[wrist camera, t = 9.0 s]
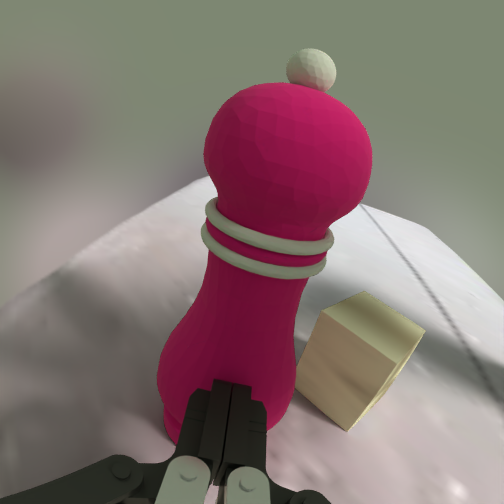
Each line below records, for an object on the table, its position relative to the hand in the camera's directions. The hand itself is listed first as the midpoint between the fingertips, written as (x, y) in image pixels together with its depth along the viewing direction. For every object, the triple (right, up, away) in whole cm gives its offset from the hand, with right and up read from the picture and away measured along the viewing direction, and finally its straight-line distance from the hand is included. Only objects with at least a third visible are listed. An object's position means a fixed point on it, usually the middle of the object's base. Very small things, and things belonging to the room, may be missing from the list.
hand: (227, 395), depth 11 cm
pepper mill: (-1, -5, +6) cm, 8 cm away
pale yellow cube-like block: (+8, -5, +11) cm, 14 cm away
